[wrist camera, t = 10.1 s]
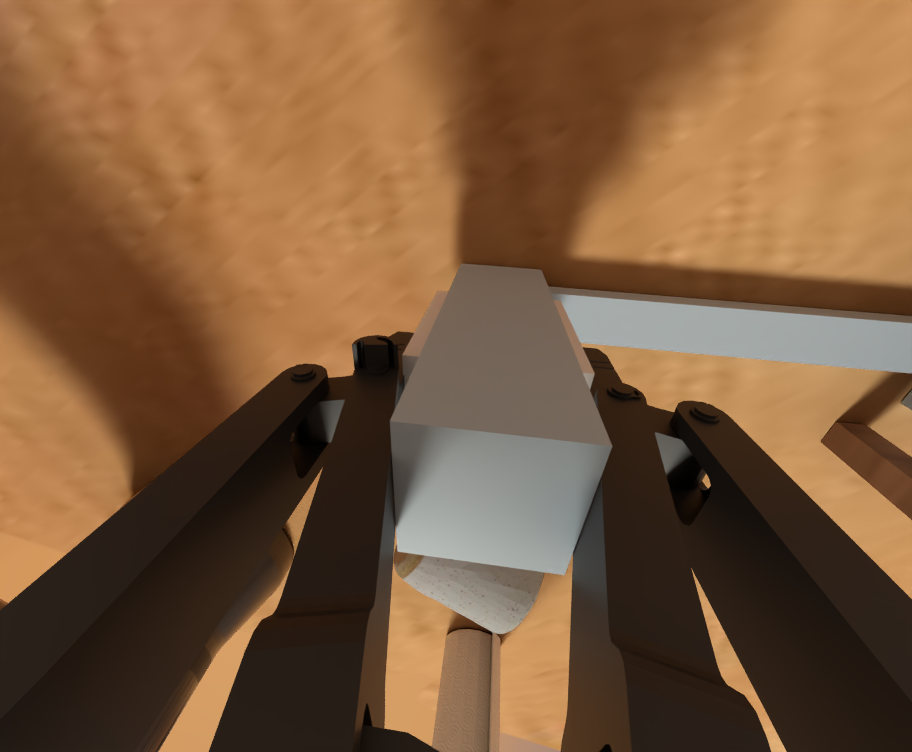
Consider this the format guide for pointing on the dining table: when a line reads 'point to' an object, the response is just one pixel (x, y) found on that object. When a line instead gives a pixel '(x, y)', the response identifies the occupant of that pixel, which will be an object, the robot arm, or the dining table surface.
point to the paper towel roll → (469, 694)
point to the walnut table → (874, 461)
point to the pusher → (564, 402)
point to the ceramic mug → (473, 588)
